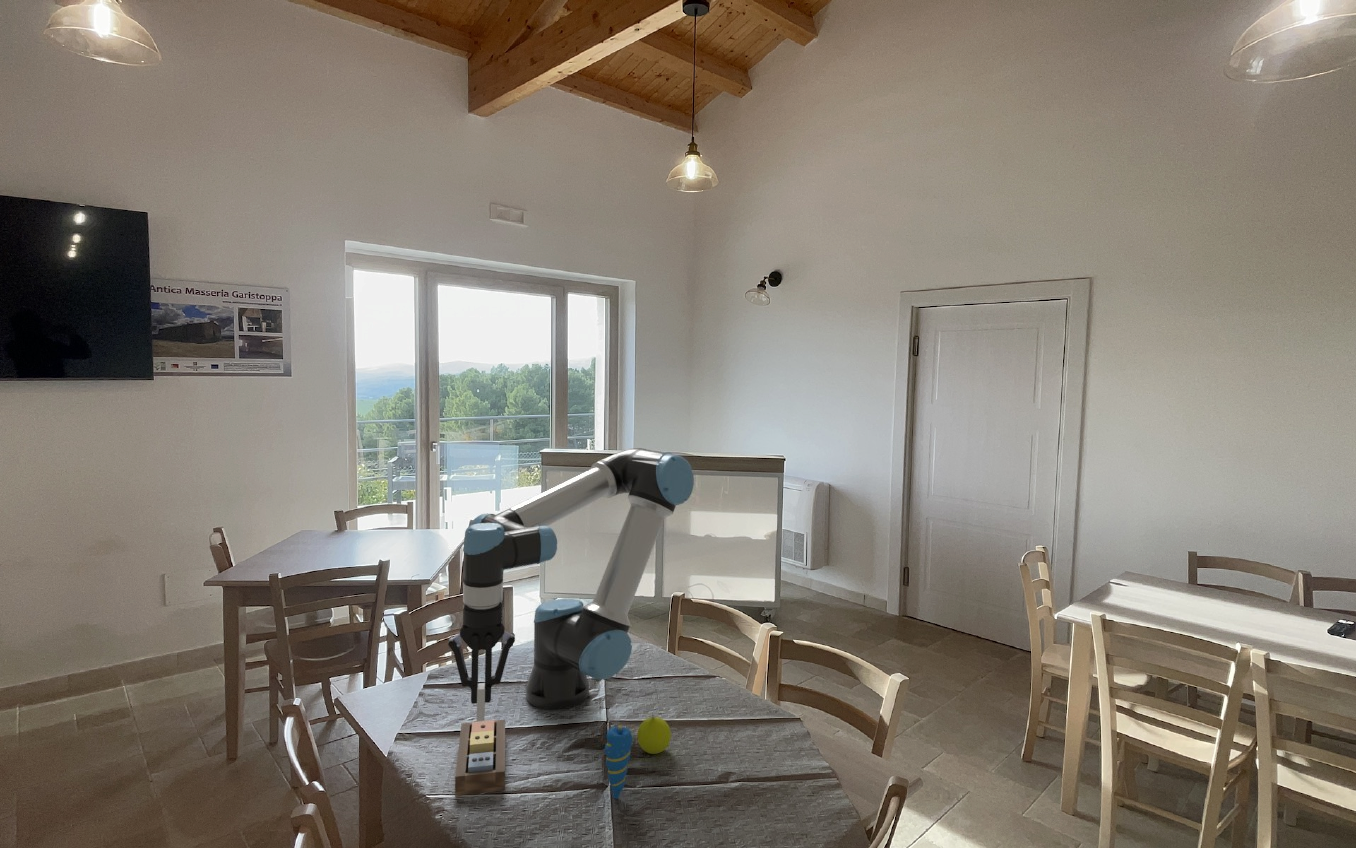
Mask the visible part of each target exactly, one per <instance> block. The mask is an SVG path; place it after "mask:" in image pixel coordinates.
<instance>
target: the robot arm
mask: <svg viewBox="0 0 1356 848" xmlns="http://www.w3.org/2000/svg"><path fill="white" fill-rule="evenodd" d="M694 482H695V477H694V473H693V468H692V465H691V463H690V462H689V461H688V460H687V459H686V458H685V457H683V456H681V455H677V454H674V453H672V452H669V451H668V452H664V451H657V450H652V449H646V448H642V447H637V448H629V449H625V450H622V451H619V452H617V453H614V454H612V455H608V456H607V457H604V458H602V459H600V460H598V461H596V462H594V463H592V465H591V466H590V469H588V470H586V471H584V472H582V473H581V474H578V475H576V476H574V477H571V478H570V479H568V480H566V481H563V482H561V483H560V484H558V485H556V486H553V487H552V488H549V489H548V490H545V491H543V492H540V493H538V494H536V495H535V496H533V497H530V498H529V499H526V500H524V501H522V502H519V503H518V504H516V505H514V506H511V507H510V508H507V509H506V510H503V511H501V512H500V513H497V514H495V513H481V514H479V515H477V516H476V517H475V518H474V519H473V521H472V522H471V524H470V525H469V526H468V527H467V528H466V529H465V531H464V538H463V539H464V540H463V547H462V548H463V549H462V551H463V583H462V589H463V590H462V602H463V605H462V625H461V628H460V630H459V633H457V634H455V635H454V636H453V635H451V636H450V637H449V639H448V647H449V648H450V649H451V651H452V652H453V655H454V660H455V664H456V667H457V672H458V675H459V679H460V684H461V687H464V688H465V687H469V688H470V690H471V691H470V694H471V695H470V701H471V704H473V705H474V704H476V722H479V721H485V717H486V703H487V704H488V703H491V700H492V687H493V686H495V685H500V684H501V681H502V677H503V674H504V671H505V666H506V663H507V660H508V655H509V653H510V649H511V648H512V646H514V645H513V644H514V643H515V641H516V634H515V633H513V632H511V633H510V632H508V631H507V630H506V629H505V626H504V624H503V603H502V601H503V600H504V599H503V597H504V596H503V595H504V570H511V569H514V568H515V569H516V568H520V567H526V566H531V565H538V564H541V563H544V562H548V561H551V560H553V558H555V556H556V554H557V550H558V538H557V536H556V533H555V531H554V529H553V528H552V527H550V525H552V524H553V523H556V522H557V521H558V522H559V521H560V520H562V519H564V518H565V517H567V516H569V515H571V514H573V513H576V512H577V511H580V510H581V509H583V508H585V507H587V506H589V505H591V504H593V503H595V502H596V501H599V500H600V499H602V498H606V499H611V498H613V497H616V496H617V495H621V494H627V498H628V501H629V503H630V508H629V510H628V512H627V515H626V517H625V520H624V523H623V525H622V528H621V529H620V533H619V535H618V537H617V540H616V543H615V545H614V547H613V550H612V553H611V556H610V558H609V561H608V562H607V565H606V567H605V570H604V573H603V575H602V577H601V580H600V583H599V585H598V587H597V590H596V593H595V595H594V597H593V600H592V602H589V603H588V604H586V605H584V603H583V601H581V600H579V599H574V598H559V599H553V600H548V601H546V602H542V603H540V604H539V605H538V606H537V607H536V608H535V611H534V618H533V625H534V629H533V630H534V631H533V632H534V634H533V638H534V639H533V640H534V641H533V666H532V669H531V672H530V674H529V675H530V676H529V678H528V680H527V684H526V686H525V697H526V700H527V702H528V703H529V704H530V705H532V706H534V707H537V708H540V709H544V710H554V711H555V710H556V711H557V710H564V709H570V708H574V707H576V706H579V705H580V704H582V703H584V702H585V701H586V700H587V698H588V697H589V695H590V683H589V680H588V677H591V678H593V679H595V680H602V681H603V680H608V679H610V678H613V677H614V676H615V675H617V674H619V673H620V672H621V671H622V669H624V667H625V666H627V663H628V661H629V659H630V657H631V655H632V650H633V645H632V639H631V637H630V635H629V634H628V632H629V629H630V628H631V622H630V620H629V617H628V614H629V611H630V609H631V606H632V604H633V601H634V599H635V596H636V593H637V590H638V589H639V585H640V582H641V580H642V577H643V575H644V572H645V570H646V567H647V565H648V562H649V559H650V557H651V555H652V552H653V548H654V546H655V545H656V541H657V539H658V536H659V534H660V533H659V532H660V531H661V528H662V526H663V523H664V520H665V519H666V518H668V517H671V516H672V515H673V514H674V512H675V509H676V507H677V506H679V505H680V506H681V505H682V504H684V503H685V502H687V501H688V500H689V498H690V497H691V495H692V493H693V489H694V485H695V483H694ZM501 638H502V639H501ZM462 640H463V641H464V643H465V644H466V645H467V647H468V648H469V649H471V673H470V674H471V675H470V676H471V677H470V676H469V673H468V668H467V665H466V660H465V658H464V654H463V653H464V652H463V650H462V649H463V648H462V643H463V641H462ZM500 640H502V644H503V645H502V647H501V651H500V654H499V658H498V662H497V666H496V669H495V673H494V675H492V674H493V673H492V672H493V671H492V669H493V668H492V667H493V665H492V663H493V662H492V661H493V657H492V655H493V648H494V647H495V646H496V645H497V643H498V642H499V641H500ZM482 650H484V652H485V653H484V654H485V655H484V656H485V659H484V661H485V662H484V664H485V665H484V682H481V683H480V682H479V657H480V656H479V654H480V653H479V651H482Z"/></svg>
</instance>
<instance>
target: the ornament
mask: <svg viewBox="0 0 1356 848" xmlns="http://www.w3.org/2000/svg"><path fill="white" fill-rule="evenodd" d="M605 737H606V743H605V746H604V753H605V756H606V760H605V765H606V768H607V779H608V782H609V785H610V789H611V791H612V795H613V798H614V799H615V800H618V799H619V797H620V795H621V793H622V791H623V789H624V787H625V785H626V776H627V773H628V769H629V765H628V764H629V761H630V759H631V753H632V752H631V749H632V746H633V740H634V739H633V734H632V732H631V731H630V729H629V728H628V727H624V726H623V724H618V725H617V726H615V727H611V728H609V729H608V731H607V733H606V736H605Z"/></svg>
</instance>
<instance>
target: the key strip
mask: <svg viewBox="0 0 1356 848" xmlns="http://www.w3.org/2000/svg"><path fill="white" fill-rule="evenodd" d="M493 720H494V751H493V770H491V771H482V772H473V773H468V764H469V754H470V737H471V731H472V722H463V723H461V726H460V733H459V734H460V735H459V742H458V750H457V752H458V753H457V760H456V765H455V766H456V767H455V775H454V786H455V787H454V790H455V791H454V796H455V797H458V796H465V795H467V796H469V795H474V794H475V795H477V794H485V793H492V792H494V793H495V792H501V791H506V719H498V720H496V719H493Z"/></svg>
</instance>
